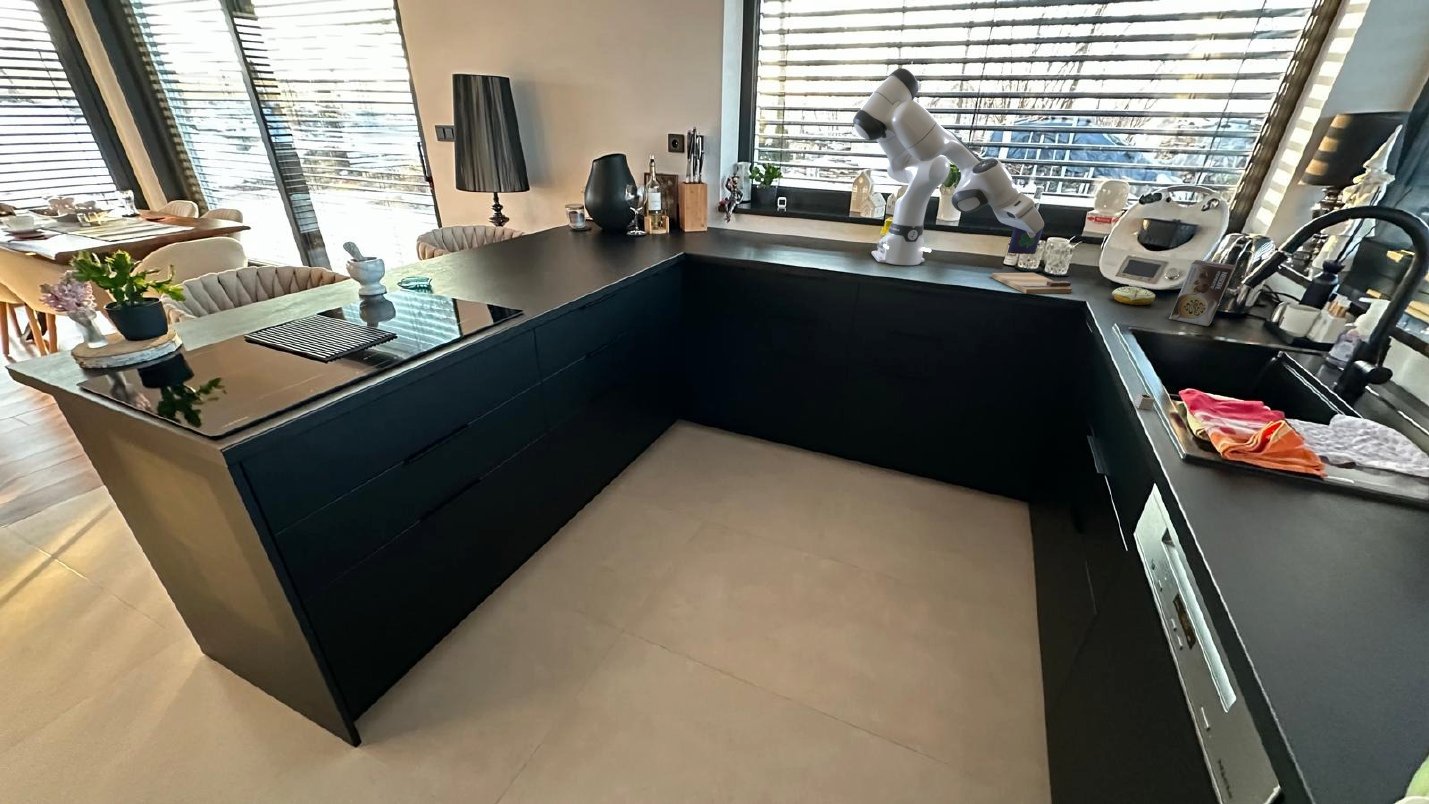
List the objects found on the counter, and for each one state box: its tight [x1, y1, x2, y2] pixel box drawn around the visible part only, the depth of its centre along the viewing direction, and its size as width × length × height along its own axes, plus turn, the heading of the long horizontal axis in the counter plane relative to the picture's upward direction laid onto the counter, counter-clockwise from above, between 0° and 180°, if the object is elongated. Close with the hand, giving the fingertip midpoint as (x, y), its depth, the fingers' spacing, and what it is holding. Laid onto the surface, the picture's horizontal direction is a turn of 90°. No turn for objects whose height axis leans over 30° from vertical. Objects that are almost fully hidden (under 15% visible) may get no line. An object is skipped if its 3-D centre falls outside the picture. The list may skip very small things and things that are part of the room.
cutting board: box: [990, 272, 1073, 295], centre depth 188 cm, size 20×16×2 cm
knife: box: [1022, 280, 1072, 287], centre depth 182 cm, size 2×16×1 cm, turn 97°
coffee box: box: [1168, 259, 1237, 327], centre depth 154 cm, size 9×6×16 cm
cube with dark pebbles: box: [1133, 393, 1156, 411], centre depth 109 cm, size 2×2×2 cm
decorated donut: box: [1111, 286, 1156, 306], centre depth 173 cm, size 10×11×4 cm
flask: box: [1007, 227, 1044, 255], centre depth 181 cm, size 9×3×11 cm, turn 90°
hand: (1028, 235), depth 181 cm, fingers closed on flask, 3 cm apart
